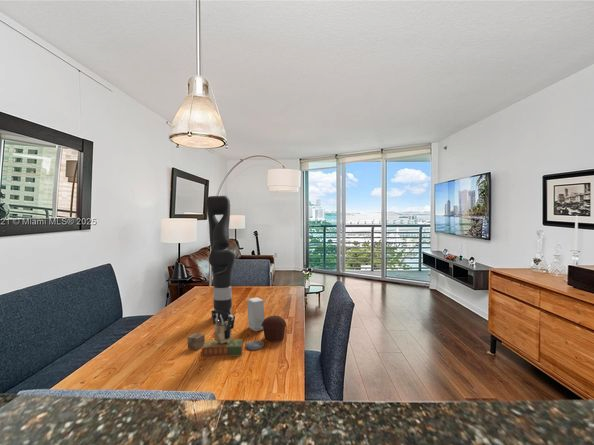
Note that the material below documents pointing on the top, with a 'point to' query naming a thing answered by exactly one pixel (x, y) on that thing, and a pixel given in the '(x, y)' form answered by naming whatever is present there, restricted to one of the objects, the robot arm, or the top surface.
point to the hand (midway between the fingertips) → (223, 336)
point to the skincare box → (255, 313)
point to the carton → (222, 348)
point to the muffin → (273, 328)
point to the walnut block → (196, 341)
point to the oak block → (221, 333)
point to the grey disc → (254, 345)
